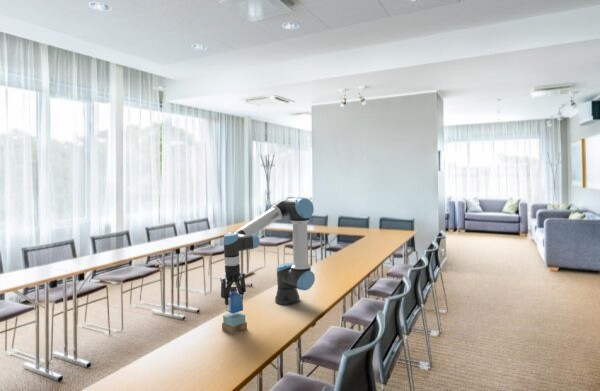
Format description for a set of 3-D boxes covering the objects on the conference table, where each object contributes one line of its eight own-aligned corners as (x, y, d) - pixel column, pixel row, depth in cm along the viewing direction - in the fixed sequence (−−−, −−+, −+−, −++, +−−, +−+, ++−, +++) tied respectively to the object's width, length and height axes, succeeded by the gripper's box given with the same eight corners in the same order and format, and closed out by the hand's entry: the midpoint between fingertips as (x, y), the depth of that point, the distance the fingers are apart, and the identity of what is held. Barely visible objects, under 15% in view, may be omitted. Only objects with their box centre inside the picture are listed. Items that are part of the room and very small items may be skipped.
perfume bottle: (232, 313, 183) (231, 290, 182) (226, 310, 187) (225, 287, 186) (243, 310, 187) (241, 287, 186) (236, 307, 191) (235, 284, 191)
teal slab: (236, 318, 193) (236, 310, 192) (245, 322, 187) (245, 314, 187) (223, 323, 187) (223, 315, 187) (232, 327, 181) (231, 319, 181)
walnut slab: (236, 325, 194) (236, 317, 193) (247, 329, 187) (246, 322, 187) (222, 330, 187) (221, 323, 187) (232, 335, 181) (231, 327, 181)
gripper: (243, 259, 195) (245, 301, 196) (211, 267, 181) (214, 312, 183) (251, 261, 190) (254, 305, 191) (219, 269, 176) (222, 316, 177)
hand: (234, 308), depth 187 cm, fingers closed on perfume bottle, 6 cm apart
